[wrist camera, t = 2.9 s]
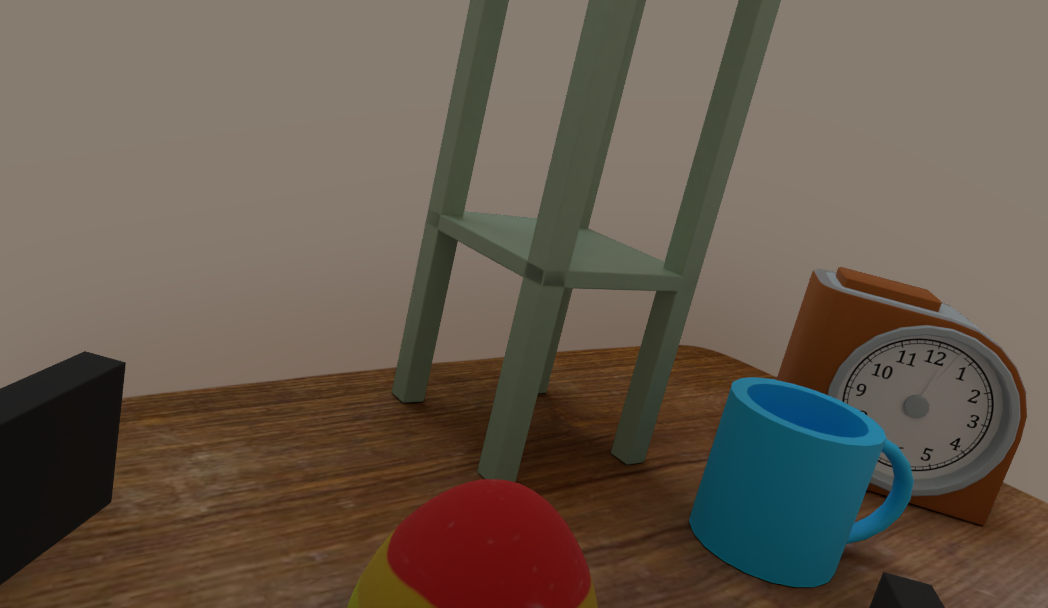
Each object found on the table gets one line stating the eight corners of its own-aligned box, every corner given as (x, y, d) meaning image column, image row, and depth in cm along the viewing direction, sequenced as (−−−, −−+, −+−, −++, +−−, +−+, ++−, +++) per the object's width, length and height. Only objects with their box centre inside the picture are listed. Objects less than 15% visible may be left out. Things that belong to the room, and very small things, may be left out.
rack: (492, 486, 45) (672, -251, 36) (391, 392, 54) (513, -218, 44) (644, 462, 53) (826, -152, 43) (533, 383, 61) (664, -141, 52)
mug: (721, 579, 41) (771, 432, 39) (669, 494, 49) (708, 368, 47) (927, 601, 44) (984, 465, 42) (847, 517, 52) (891, 399, 49)
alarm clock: (763, 460, 57) (826, 276, 54) (759, 418, 65) (813, 255, 62) (986, 529, 55) (1067, 340, 51) (953, 476, 63) (1021, 310, 59)
